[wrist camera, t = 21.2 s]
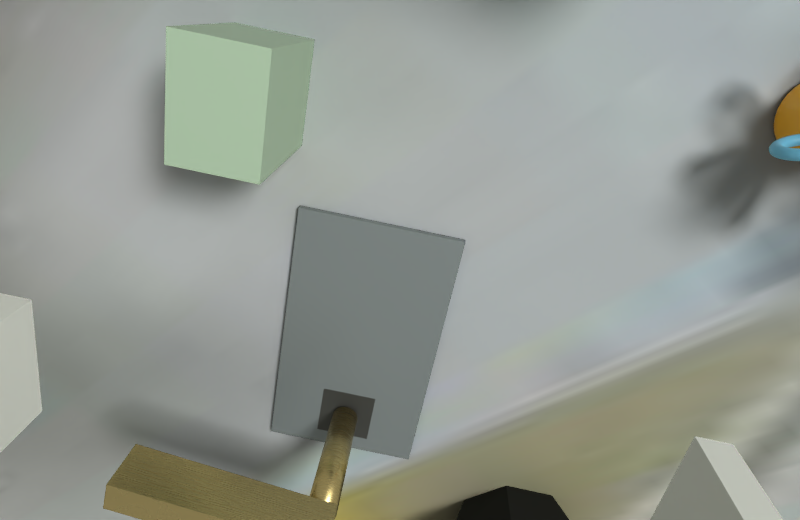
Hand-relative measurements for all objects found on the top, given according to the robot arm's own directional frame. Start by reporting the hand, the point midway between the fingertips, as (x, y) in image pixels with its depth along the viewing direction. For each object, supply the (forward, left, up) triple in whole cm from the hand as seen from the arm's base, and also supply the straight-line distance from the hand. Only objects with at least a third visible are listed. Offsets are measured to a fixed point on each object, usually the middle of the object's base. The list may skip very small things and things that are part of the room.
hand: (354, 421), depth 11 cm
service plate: (+21, -2, -35) cm, 41 cm away
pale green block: (0, -12, -35) cm, 37 cm away
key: (+28, -8, -34) cm, 45 cm away
